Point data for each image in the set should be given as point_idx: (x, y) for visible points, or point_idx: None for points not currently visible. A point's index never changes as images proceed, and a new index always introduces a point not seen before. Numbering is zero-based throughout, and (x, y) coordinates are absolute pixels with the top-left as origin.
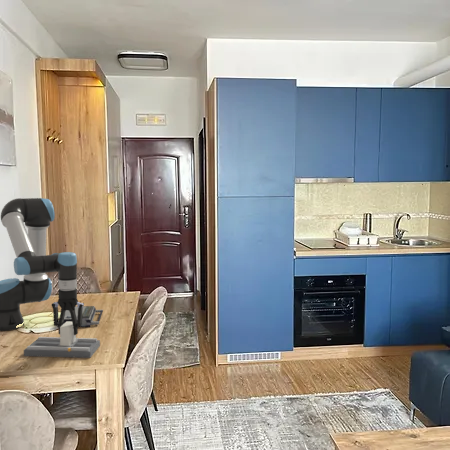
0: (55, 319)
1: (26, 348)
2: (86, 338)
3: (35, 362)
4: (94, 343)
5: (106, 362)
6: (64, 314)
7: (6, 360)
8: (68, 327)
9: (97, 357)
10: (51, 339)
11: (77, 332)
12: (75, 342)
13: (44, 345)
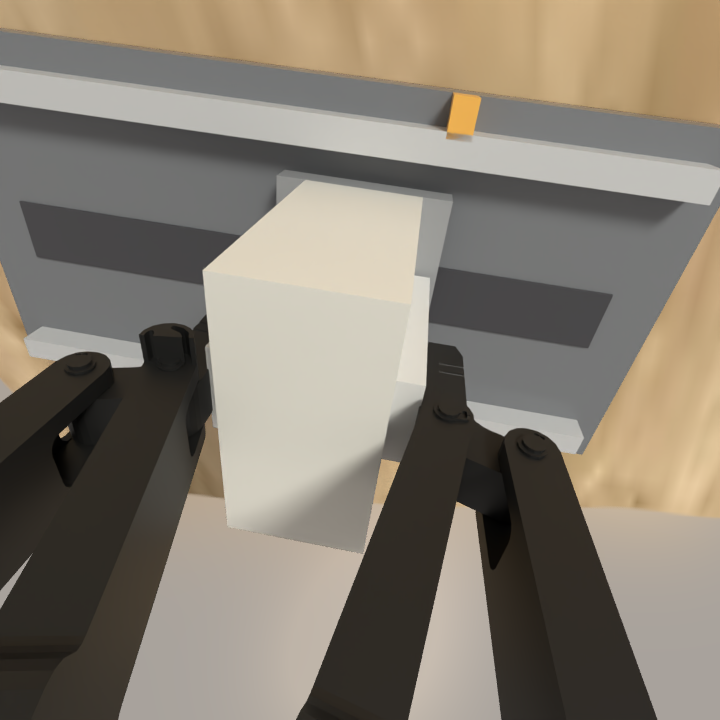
0: (43, 515)
1: (28, 323)
2: (567, 165)
3: (207, 435)
4: (654, 253)
5: (681, 499)
6: (126, 581)
7: (16, 386)
8: (349, 549)
9: (628, 419)
10: (109, 116)
11: (461, 367)
12: (431, 295)
13: (132, 272)
